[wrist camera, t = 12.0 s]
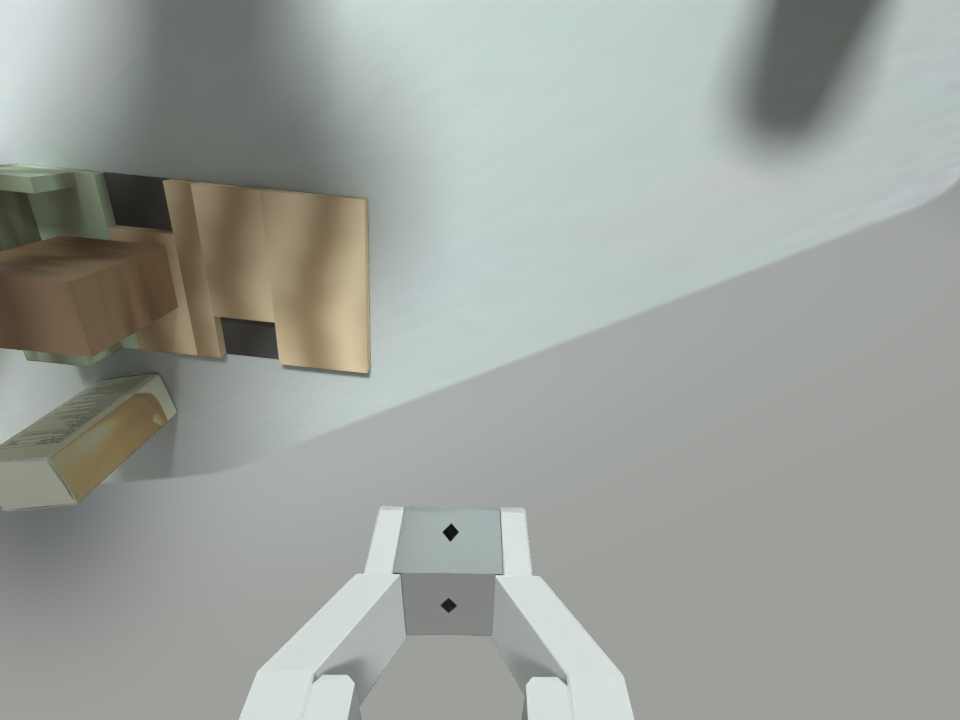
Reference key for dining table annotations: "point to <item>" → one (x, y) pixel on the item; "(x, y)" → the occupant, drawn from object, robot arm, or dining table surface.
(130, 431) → the skincare box
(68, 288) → the walnut block
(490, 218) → the dining table surface
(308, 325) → the wooden slotted tray
